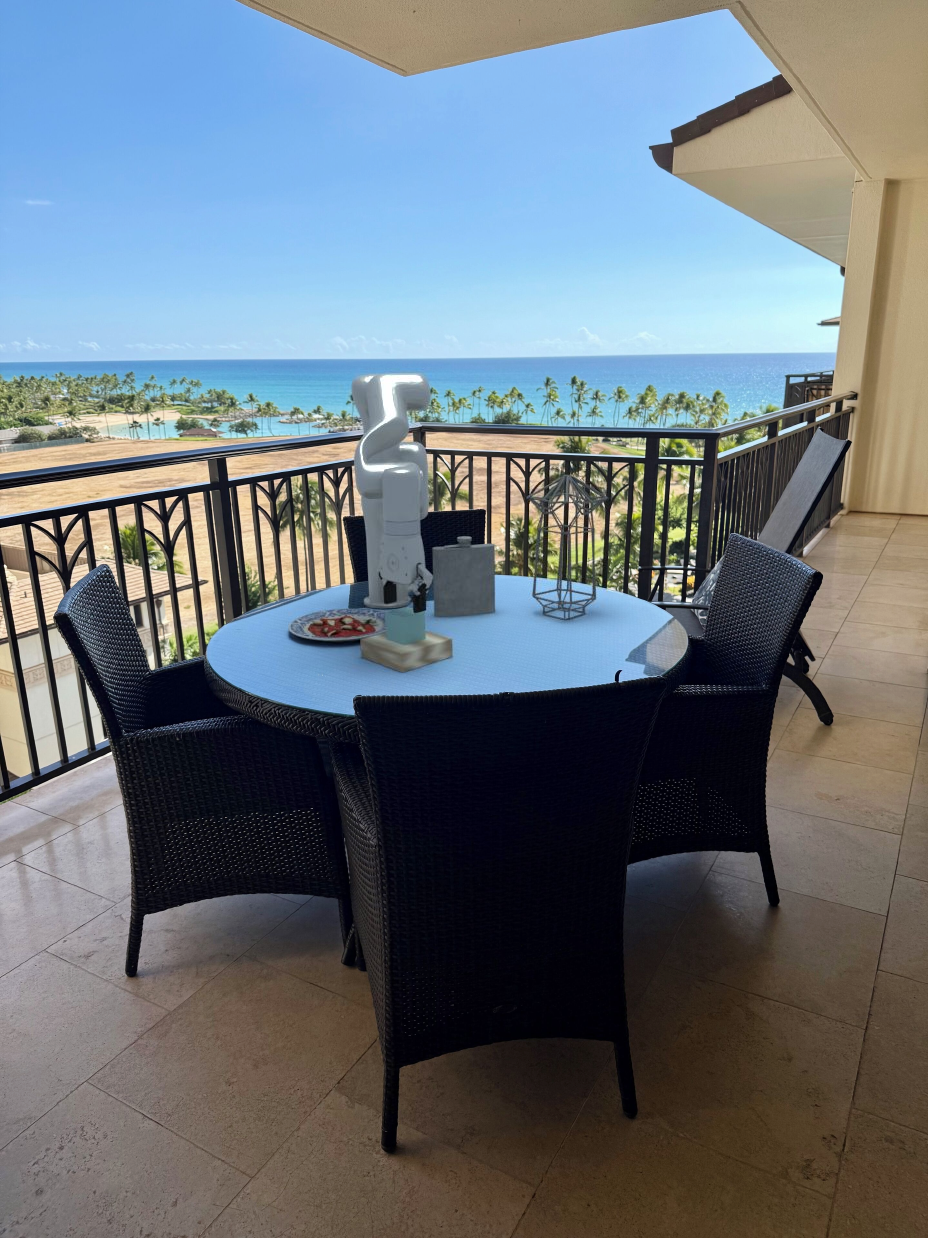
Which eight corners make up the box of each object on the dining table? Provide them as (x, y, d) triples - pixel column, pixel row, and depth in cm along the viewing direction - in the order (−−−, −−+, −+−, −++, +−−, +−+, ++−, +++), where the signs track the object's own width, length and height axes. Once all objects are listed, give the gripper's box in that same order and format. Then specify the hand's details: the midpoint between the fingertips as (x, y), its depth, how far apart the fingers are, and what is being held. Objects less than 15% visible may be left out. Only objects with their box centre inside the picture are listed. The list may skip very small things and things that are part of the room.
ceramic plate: (293, 653, 179) (292, 640, 178) (285, 622, 203) (284, 610, 202) (407, 641, 186) (407, 629, 185) (386, 612, 210) (386, 601, 209)
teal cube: (407, 633, 178) (406, 606, 176) (425, 638, 174) (424, 611, 172) (386, 639, 174) (385, 612, 172) (404, 645, 170) (403, 617, 168)
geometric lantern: (520, 614, 206) (522, 475, 197) (562, 604, 216) (565, 471, 207) (567, 626, 195) (571, 478, 186) (608, 614, 205) (614, 474, 196)
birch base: (410, 642, 185) (410, 625, 183) (452, 656, 175) (452, 638, 174) (361, 657, 175) (360, 639, 174) (402, 672, 166) (401, 653, 164)
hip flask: (493, 609, 210) (492, 533, 205) (497, 613, 207) (497, 536, 201) (433, 614, 207) (431, 537, 201) (436, 618, 203) (434, 540, 197)
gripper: (362, 525, 171) (366, 603, 176) (415, 536, 159) (418, 619, 164) (389, 520, 176) (392, 596, 181) (443, 530, 164) (445, 611, 169)
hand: (404, 607), depth 172 cm, fingers open, 9 cm apart
